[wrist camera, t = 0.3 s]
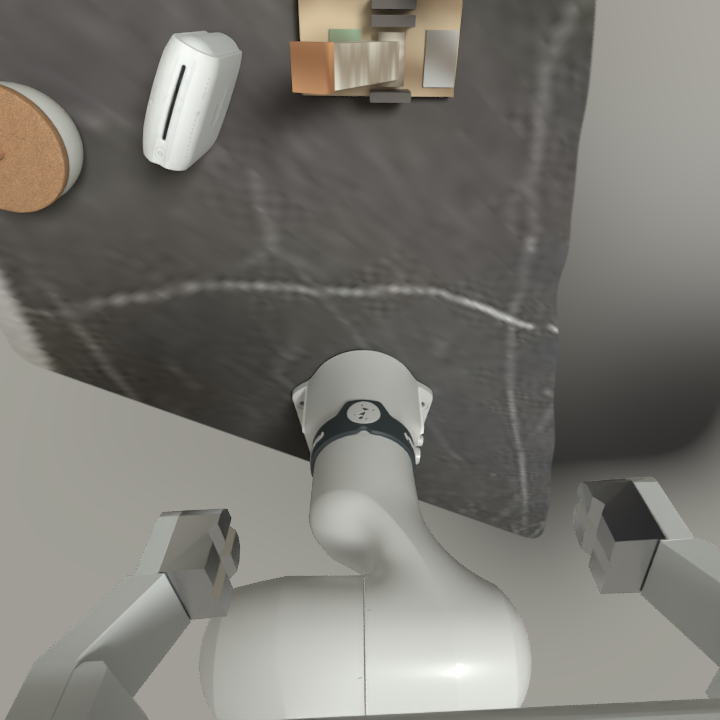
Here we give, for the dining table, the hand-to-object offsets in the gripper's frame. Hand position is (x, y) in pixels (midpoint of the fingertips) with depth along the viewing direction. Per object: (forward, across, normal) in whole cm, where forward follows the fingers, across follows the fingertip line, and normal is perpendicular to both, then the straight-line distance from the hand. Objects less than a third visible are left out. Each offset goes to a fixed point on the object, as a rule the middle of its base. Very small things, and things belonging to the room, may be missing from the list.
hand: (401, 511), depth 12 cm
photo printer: (+47, -15, +5) cm, 49 cm away
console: (+46, +2, +12) cm, 48 cm away
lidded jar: (+47, -32, +3) cm, 57 cm away
